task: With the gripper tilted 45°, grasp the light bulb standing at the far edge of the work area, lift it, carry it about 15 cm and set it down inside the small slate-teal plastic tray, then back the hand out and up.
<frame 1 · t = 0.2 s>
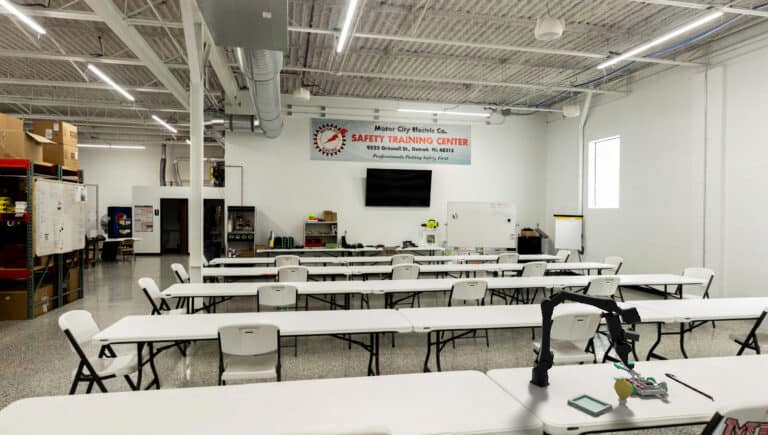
hand: (623, 361, 177), 15 cm above the table, tool tilted 15°, fingers open, 9 cm apart
crowbar: (690, 388, 189), on the table
robot kit: (633, 386, 189), on the table
light bulb: (622, 404, 170), on the table
tray: (589, 405, 167), on the table
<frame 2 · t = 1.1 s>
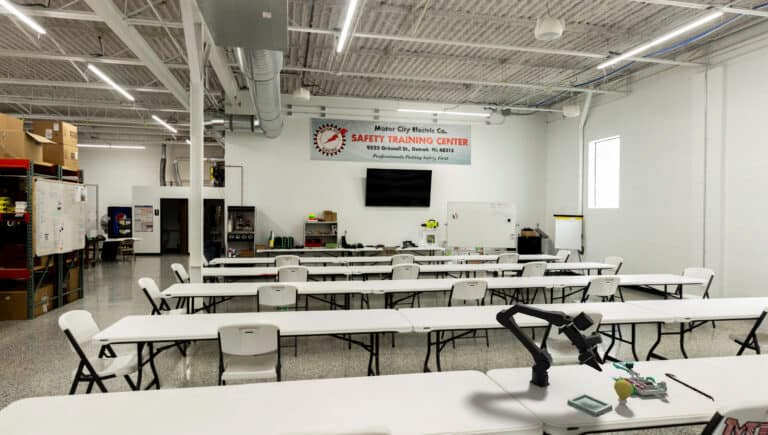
hand: (602, 367, 174), 13 cm above the table, tool tilted 45°, fingers open, 9 cm apart
nothing on the table moved.
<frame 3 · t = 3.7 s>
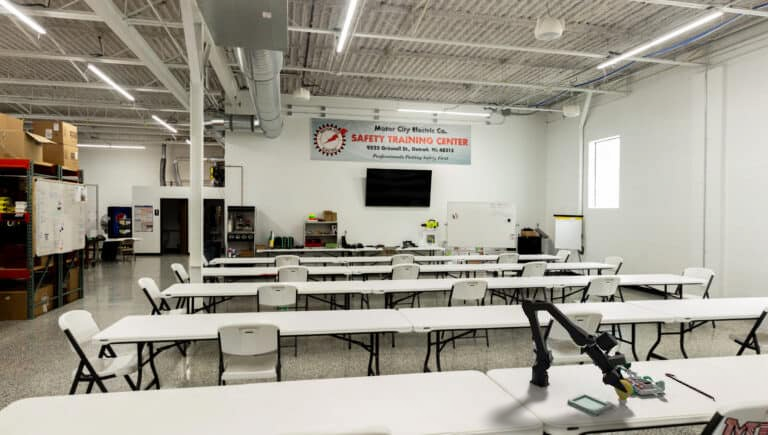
hand: (627, 389, 169), 7 cm above the table, tool tilted 45°, fingers closed on light bulb, 7 cm apart
light bulb: (622, 404, 170), on the table, touching gripper
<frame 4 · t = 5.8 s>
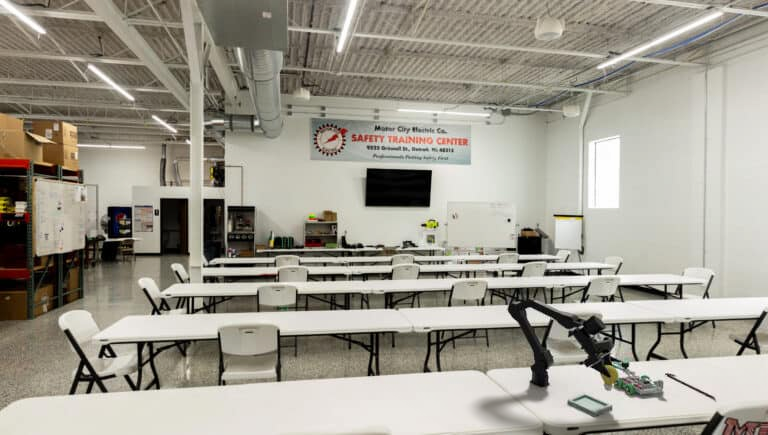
hand: (612, 374, 167), 13 cm above the table, tool tilted 45°, fingers closed on light bulb, 7 cm apart
light bulb: (607, 389, 168), point 7 cm above the table, touching gripper
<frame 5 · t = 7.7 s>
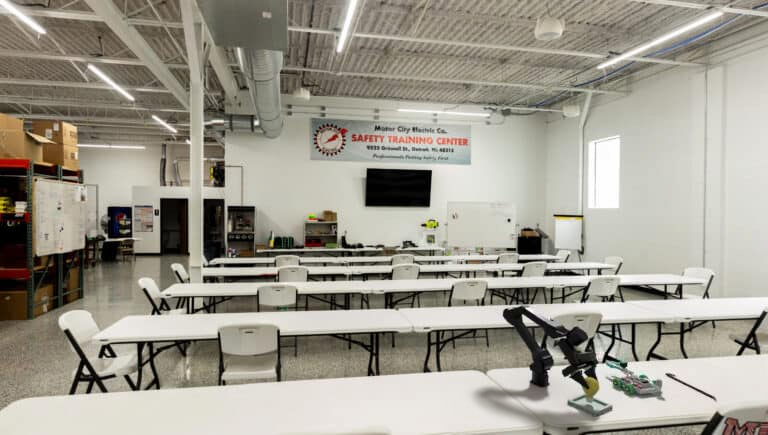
hand: (593, 387, 166), 8 cm above the table, tool tilted 45°, fingers closed on light bulb, 6 cm apart
light bulb: (589, 402, 168), point 1 cm above the table, touching gripper
when the fingers open (8 cm above the table, at t = 8.1 s): light bulb drops 1 cm, resting on tray.
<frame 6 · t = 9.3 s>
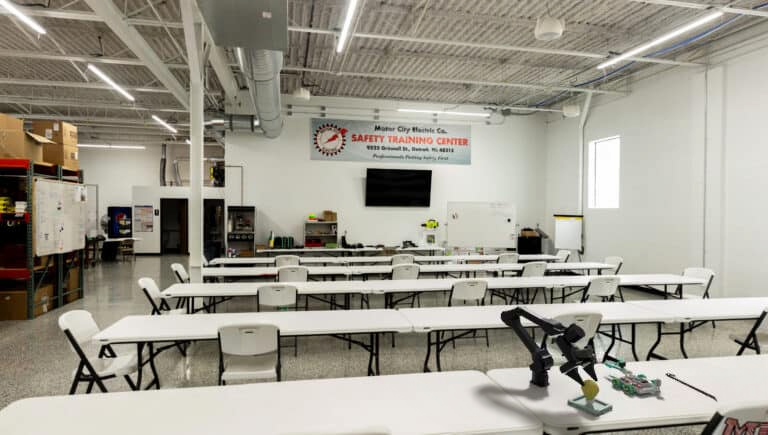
hand: (590, 383, 167), 9 cm above the table, tool tilted 45°, fingers open, 9 cm apart
light bulb: (589, 404, 168), resting on tray
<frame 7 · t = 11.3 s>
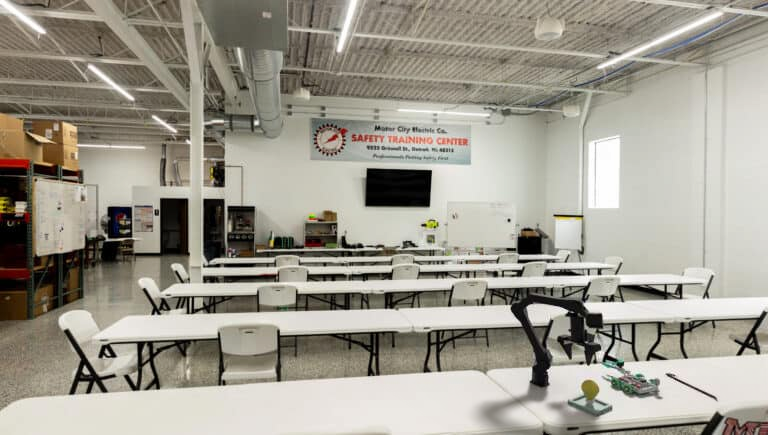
hand: (579, 362, 179), 13 cm above the table, tool pointing down, fingers open, 9 cm apart
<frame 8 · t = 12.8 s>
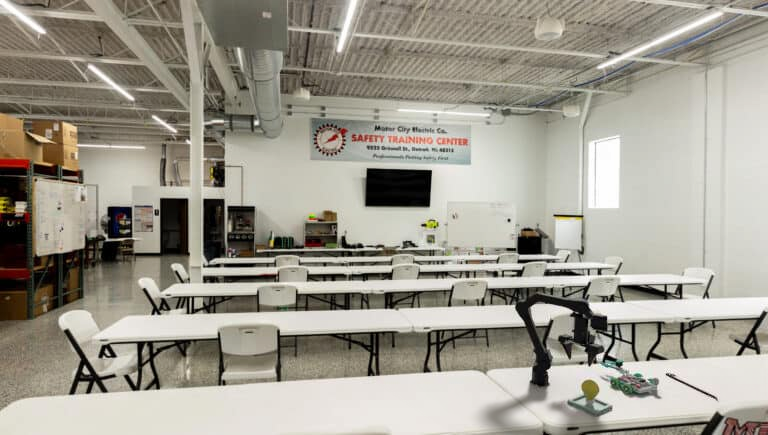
hand: (579, 362, 180), 13 cm above the table, tool pointing down, fingers open, 9 cm apart
at the end: light bulb inside the target area on the tray (0.1 cm from its centre), point 0.4 cm above the tray's base; the gripper is holding nothing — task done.
